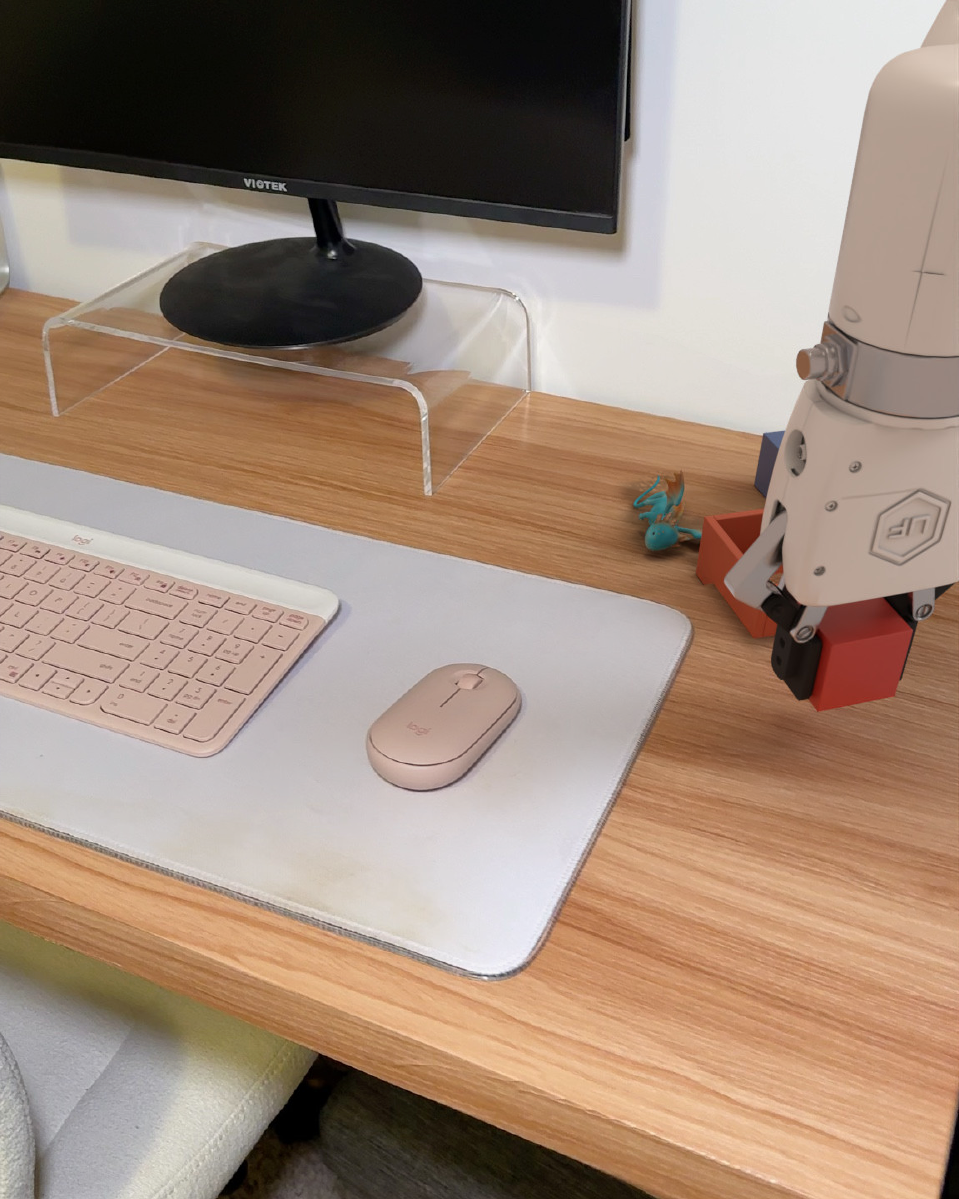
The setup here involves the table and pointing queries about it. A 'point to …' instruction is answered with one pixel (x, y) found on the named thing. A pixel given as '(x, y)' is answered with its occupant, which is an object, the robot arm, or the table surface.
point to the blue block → (767, 460)
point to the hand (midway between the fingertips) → (836, 671)
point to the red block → (859, 654)
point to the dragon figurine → (665, 516)
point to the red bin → (732, 561)
